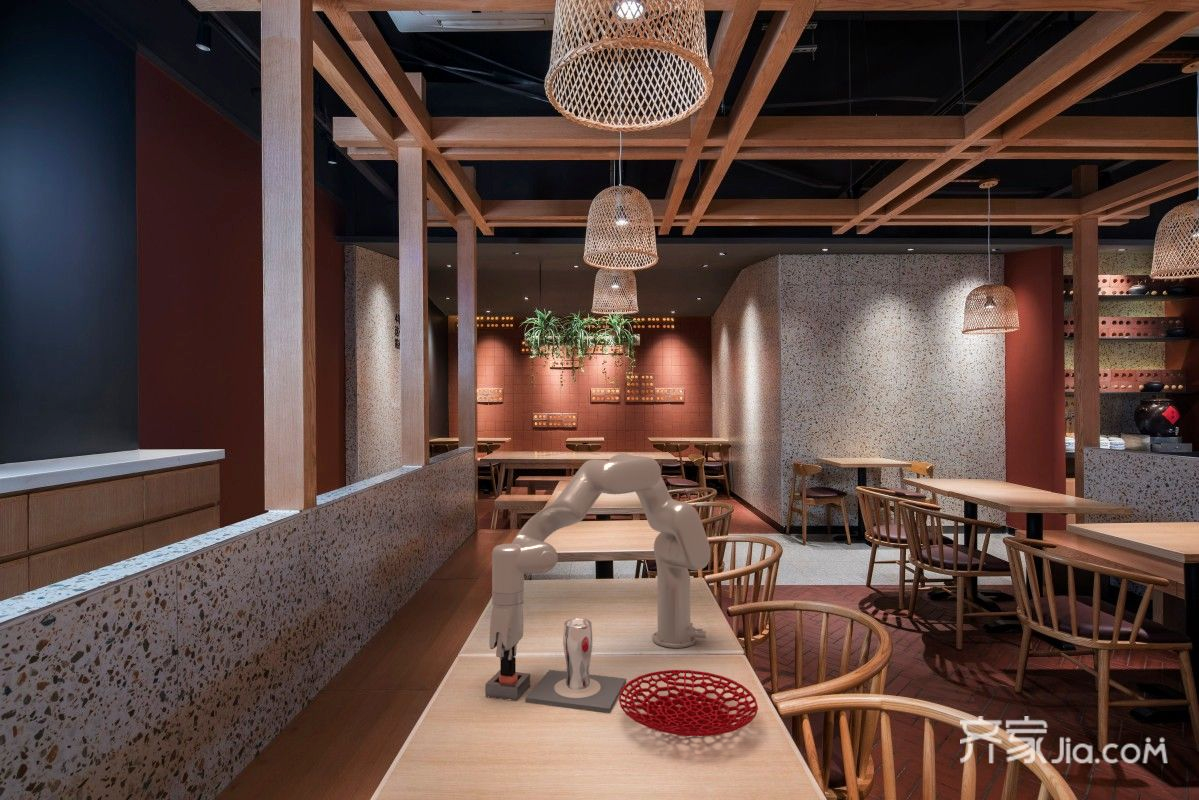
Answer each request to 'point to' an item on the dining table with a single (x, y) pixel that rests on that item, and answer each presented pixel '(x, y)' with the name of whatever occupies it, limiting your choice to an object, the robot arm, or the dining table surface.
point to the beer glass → (577, 653)
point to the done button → (508, 679)
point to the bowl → (688, 704)
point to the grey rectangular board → (592, 699)
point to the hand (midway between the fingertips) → (507, 674)
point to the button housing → (507, 687)
